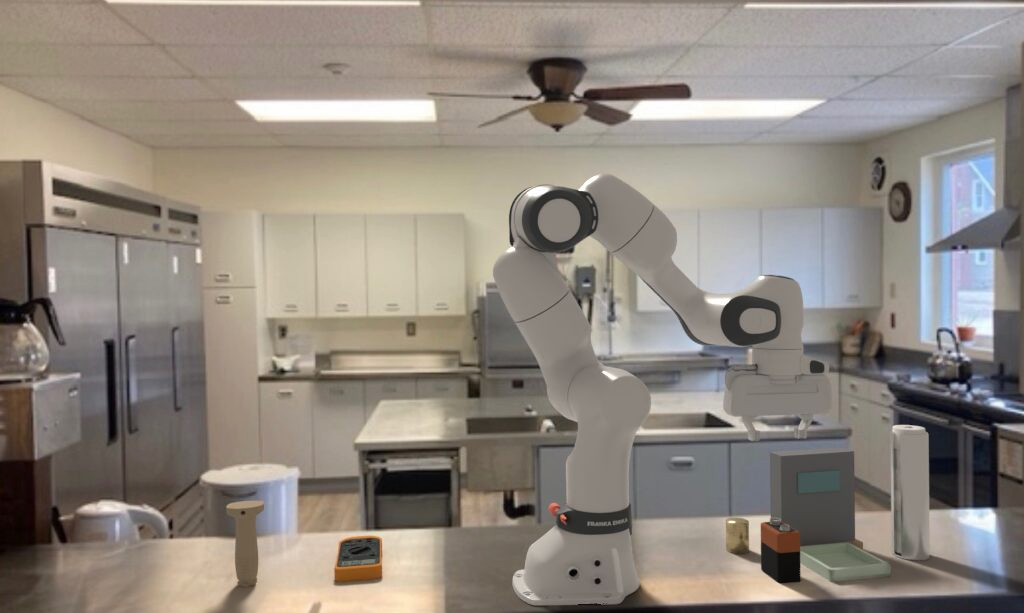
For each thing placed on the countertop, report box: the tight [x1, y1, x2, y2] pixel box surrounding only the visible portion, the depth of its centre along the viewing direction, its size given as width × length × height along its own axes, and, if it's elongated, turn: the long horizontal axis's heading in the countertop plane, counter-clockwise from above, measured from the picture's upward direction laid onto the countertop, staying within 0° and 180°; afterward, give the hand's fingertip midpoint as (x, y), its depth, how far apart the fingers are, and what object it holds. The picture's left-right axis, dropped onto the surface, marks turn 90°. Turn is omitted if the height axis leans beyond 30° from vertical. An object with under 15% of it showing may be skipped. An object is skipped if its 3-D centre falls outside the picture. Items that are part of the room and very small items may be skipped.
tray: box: [800, 542, 892, 583], centre depth 137 cm, size 12×12×2 cm
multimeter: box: [333, 535, 383, 583], centre depth 142 cm, size 9×18×3 cm, turn 10°
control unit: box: [769, 446, 864, 550], centre depth 146 cm, size 18×6×20 cm, turn 101°
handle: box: [225, 500, 265, 588], centre depth 133 cm, size 5×6×15 cm
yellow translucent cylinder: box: [725, 517, 750, 555], centre depth 146 cm, size 4×4×6 cm
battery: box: [760, 517, 802, 584], centre depth 133 cm, size 4×7×10 cm, turn 9°
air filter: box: [889, 424, 931, 562], centre depth 142 cm, size 6×6×25 cm
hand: (777, 439), depth 134 cm, fingers open, 8 cm apart
